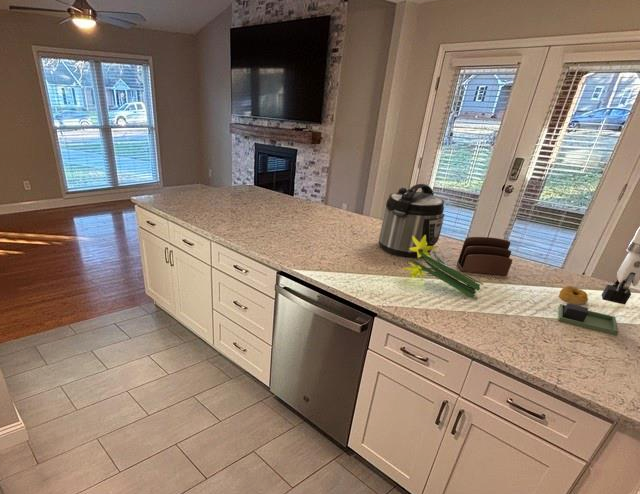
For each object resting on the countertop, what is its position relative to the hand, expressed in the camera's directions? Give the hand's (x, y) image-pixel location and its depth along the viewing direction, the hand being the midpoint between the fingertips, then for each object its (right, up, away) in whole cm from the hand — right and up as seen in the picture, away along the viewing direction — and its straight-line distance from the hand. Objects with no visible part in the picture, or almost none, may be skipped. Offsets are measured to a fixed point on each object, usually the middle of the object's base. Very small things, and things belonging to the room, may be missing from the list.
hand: (613, 298), depth 145 cm
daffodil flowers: (-48, +10, +31) cm, 58 cm away
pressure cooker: (-49, +34, +67) cm, 90 cm away
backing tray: (-4, -8, +8) cm, 12 cm away
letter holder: (-20, +19, +48) cm, 56 cm away
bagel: (+3, +2, +23) cm, 24 cm away
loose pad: (0, 0, 0) cm, 0 cm away
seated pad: (-7, -6, +9) cm, 13 cm away
